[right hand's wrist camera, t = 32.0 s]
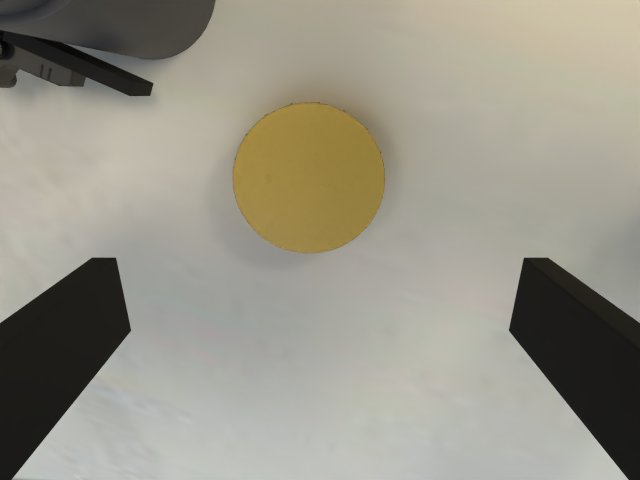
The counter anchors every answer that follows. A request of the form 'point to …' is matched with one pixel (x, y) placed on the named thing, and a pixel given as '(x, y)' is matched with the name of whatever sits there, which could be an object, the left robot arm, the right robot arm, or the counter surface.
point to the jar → (112, 23)
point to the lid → (308, 177)
